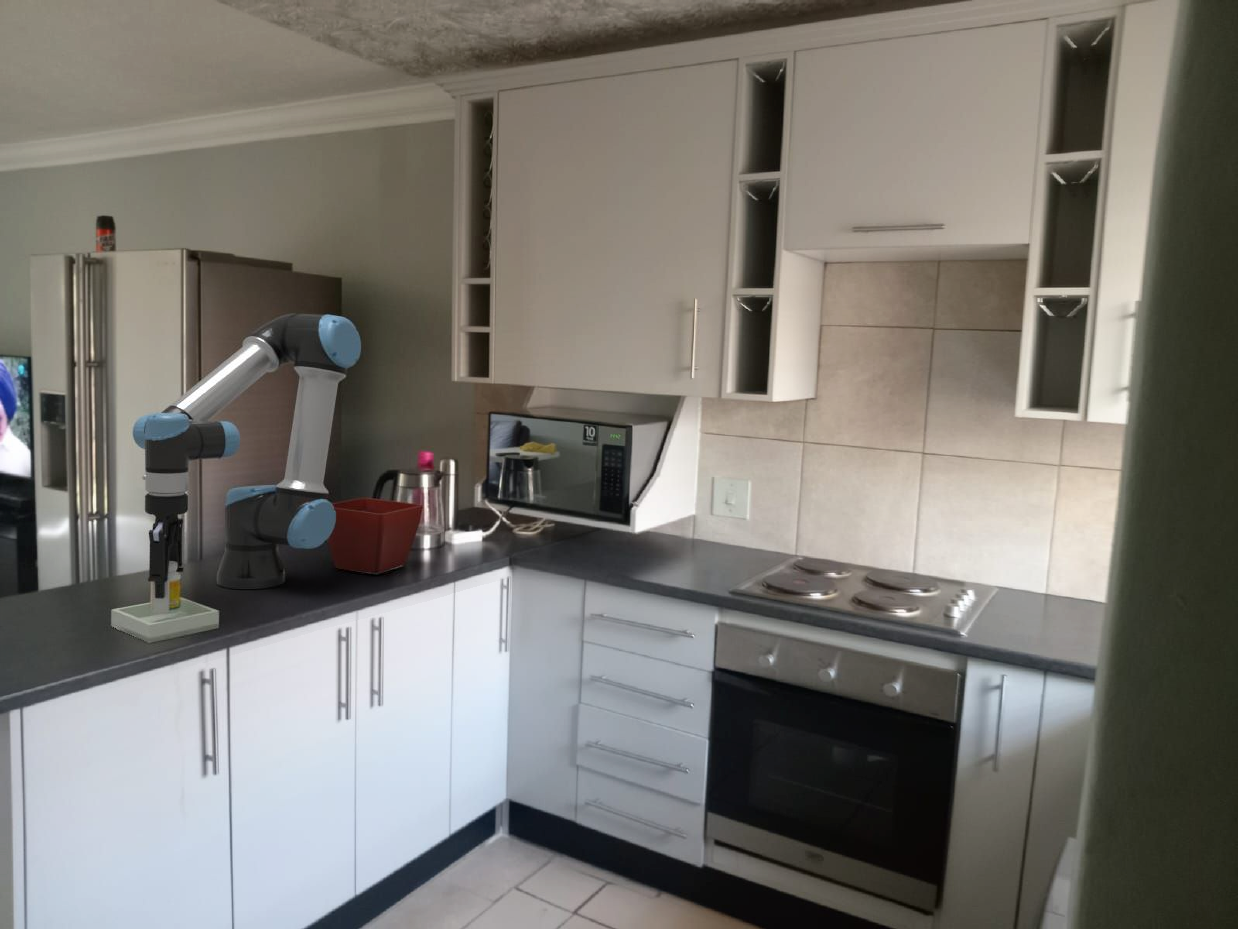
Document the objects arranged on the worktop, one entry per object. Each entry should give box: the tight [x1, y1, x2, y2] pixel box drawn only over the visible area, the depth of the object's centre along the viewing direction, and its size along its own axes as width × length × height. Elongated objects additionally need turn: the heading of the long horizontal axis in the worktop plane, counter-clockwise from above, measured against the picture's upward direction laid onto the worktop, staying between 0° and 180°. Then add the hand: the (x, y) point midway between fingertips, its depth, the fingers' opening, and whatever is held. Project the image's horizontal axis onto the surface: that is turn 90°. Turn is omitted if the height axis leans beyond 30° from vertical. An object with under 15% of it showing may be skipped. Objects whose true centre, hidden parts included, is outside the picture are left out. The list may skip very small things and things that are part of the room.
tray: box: [110, 596, 220, 644], centre depth 181 cm, size 14×14×4 cm
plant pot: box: [326, 497, 423, 573], centre depth 238 cm, size 19×19×17 cm
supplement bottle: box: [149, 561, 182, 613], centre depth 180 cm, size 5×5×10 cm
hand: (165, 609), depth 181 cm, fingers closed on supplement bottle, 5 cm apart
